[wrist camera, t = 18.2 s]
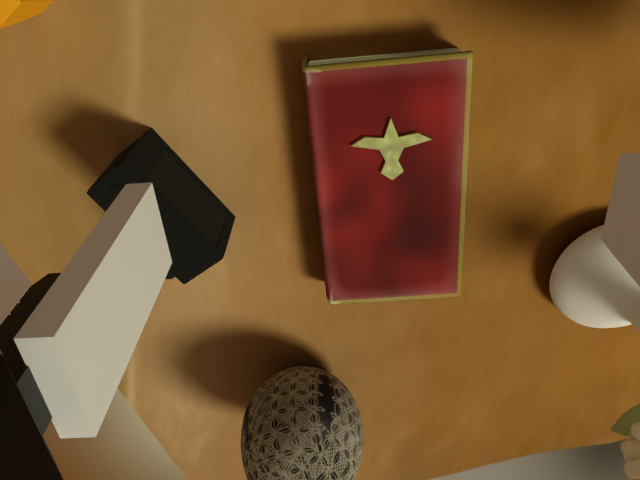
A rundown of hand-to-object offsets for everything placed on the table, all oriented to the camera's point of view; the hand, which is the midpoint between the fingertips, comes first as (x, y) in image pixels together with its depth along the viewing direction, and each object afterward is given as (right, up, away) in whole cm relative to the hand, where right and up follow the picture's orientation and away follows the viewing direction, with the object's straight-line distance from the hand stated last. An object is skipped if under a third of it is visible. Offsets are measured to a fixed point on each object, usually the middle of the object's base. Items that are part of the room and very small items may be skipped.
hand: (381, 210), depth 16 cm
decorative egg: (-3, -16, +43) cm, 46 cm away
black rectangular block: (-15, +3, +32) cm, 35 cm away
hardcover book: (+4, +5, +31) cm, 32 cm away
